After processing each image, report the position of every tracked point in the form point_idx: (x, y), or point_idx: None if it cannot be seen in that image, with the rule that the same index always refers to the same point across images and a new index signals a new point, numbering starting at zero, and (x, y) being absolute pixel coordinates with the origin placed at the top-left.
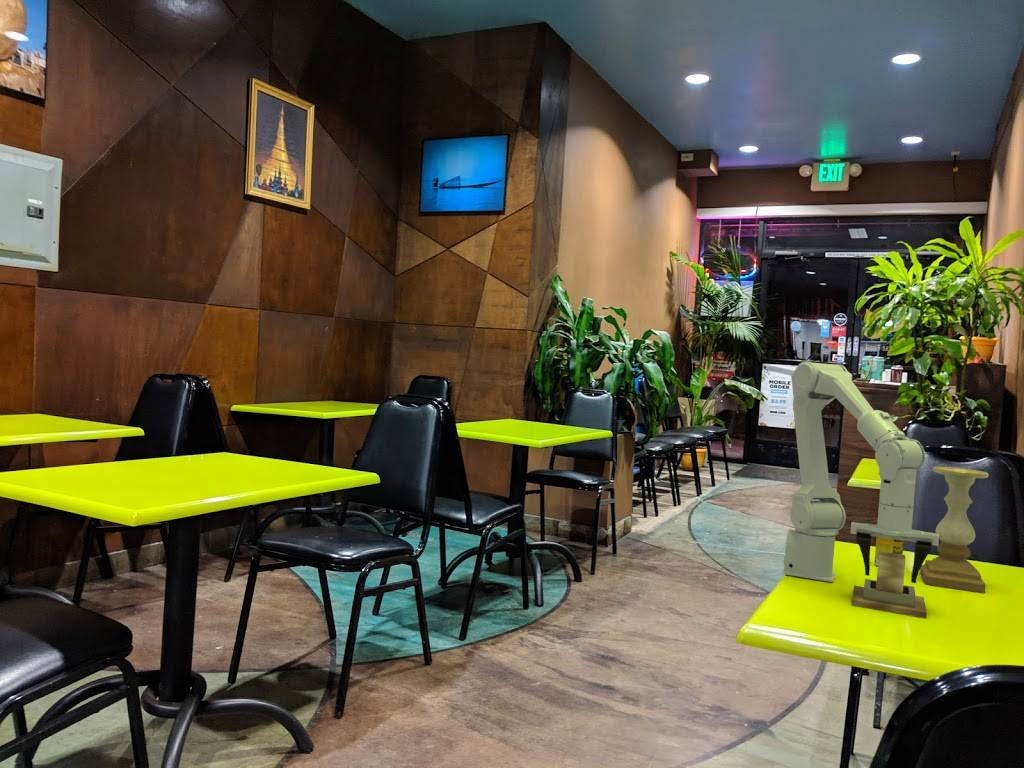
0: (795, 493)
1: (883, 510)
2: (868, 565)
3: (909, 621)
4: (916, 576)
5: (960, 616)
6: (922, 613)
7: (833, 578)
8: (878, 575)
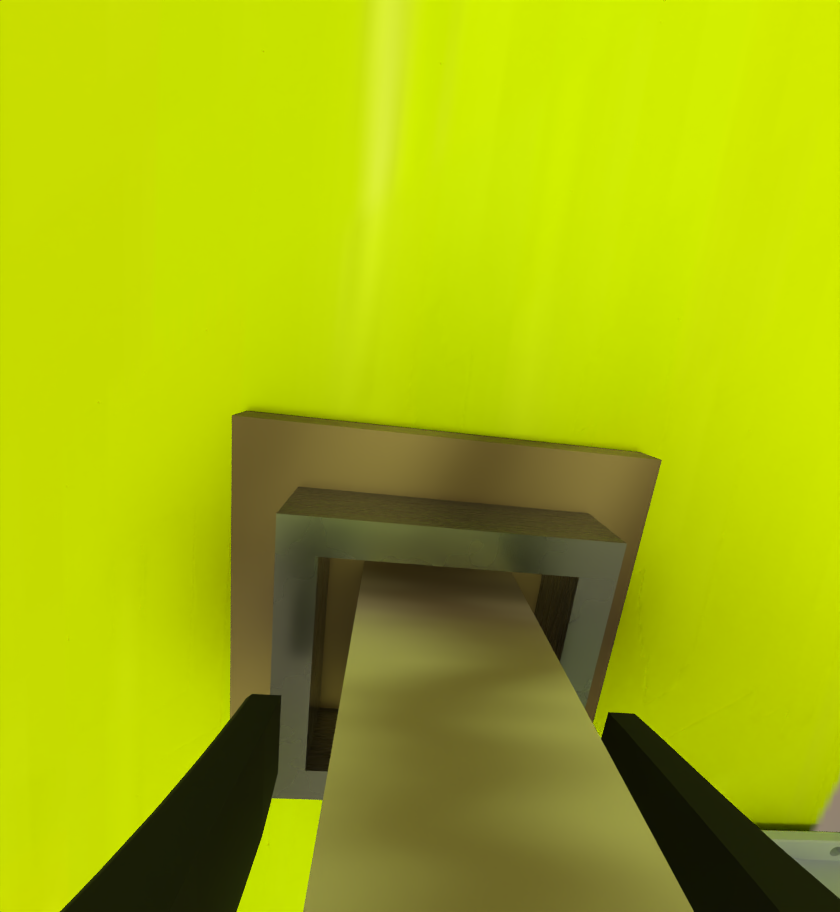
0: None
1: None
2: (690, 793)
3: (351, 275)
4: (216, 741)
5: (59, 581)
6: (260, 417)
7: None
8: (562, 684)
